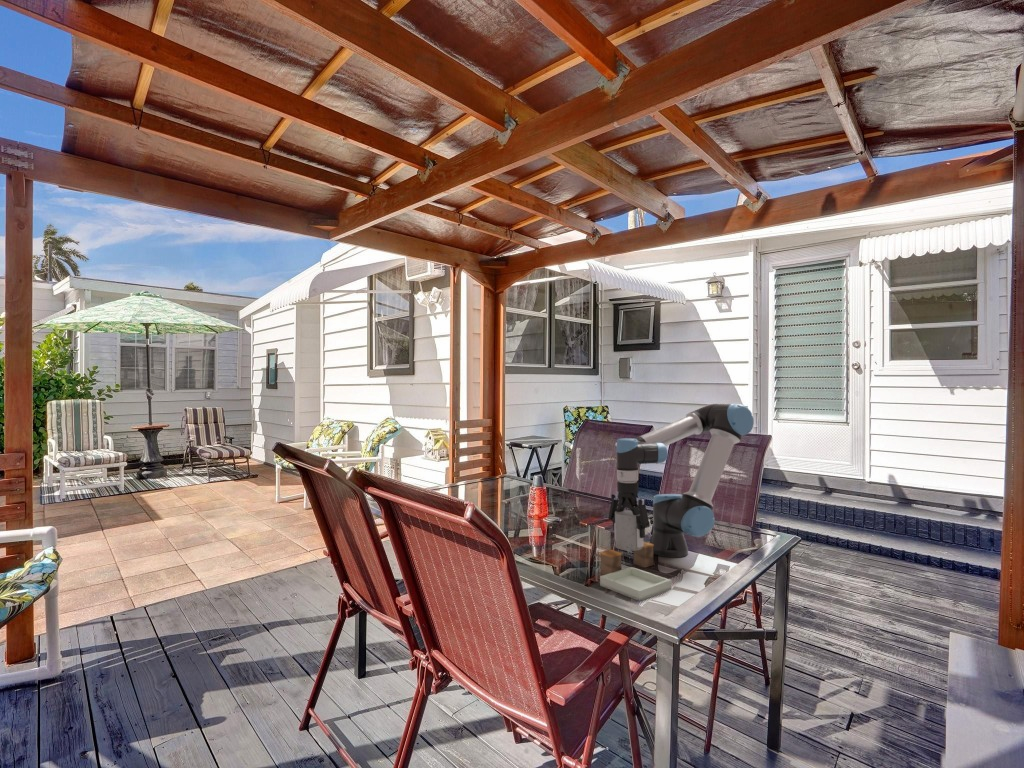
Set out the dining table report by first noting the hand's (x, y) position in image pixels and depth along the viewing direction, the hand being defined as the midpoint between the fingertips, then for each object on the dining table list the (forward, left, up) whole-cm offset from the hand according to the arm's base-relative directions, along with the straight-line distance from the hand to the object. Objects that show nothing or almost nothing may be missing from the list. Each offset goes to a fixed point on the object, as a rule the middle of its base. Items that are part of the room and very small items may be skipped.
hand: (628, 543), depth 180 cm
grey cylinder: (0, 0, -1) cm, 1 cm away
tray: (+12, +13, -9) cm, 20 cm away
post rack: (0, 0, -9) cm, 9 cm away
